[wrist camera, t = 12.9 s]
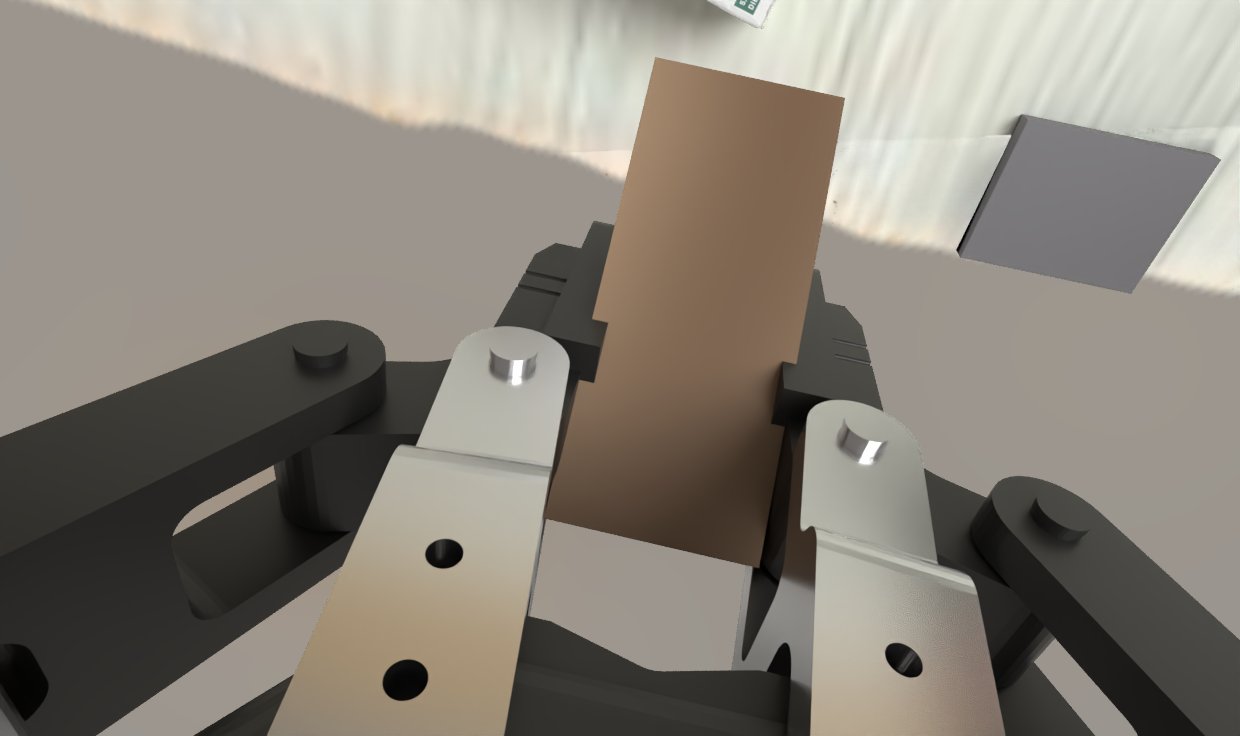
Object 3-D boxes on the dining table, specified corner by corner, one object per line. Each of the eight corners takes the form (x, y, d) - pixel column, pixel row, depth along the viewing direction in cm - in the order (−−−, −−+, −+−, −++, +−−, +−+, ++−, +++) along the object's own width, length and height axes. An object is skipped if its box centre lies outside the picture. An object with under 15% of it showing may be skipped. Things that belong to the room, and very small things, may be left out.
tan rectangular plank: (694, 355, 25) (844, 98, 9) (658, 526, 24) (759, 568, 8) (625, 340, 25) (655, 57, 9) (585, 509, 24) (543, 517, 8)
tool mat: (1210, 153, 37) (1220, 159, 36) (1123, 285, 42) (1131, 293, 41) (1022, 114, 38) (1028, 119, 37) (956, 250, 42) (960, 257, 41)
